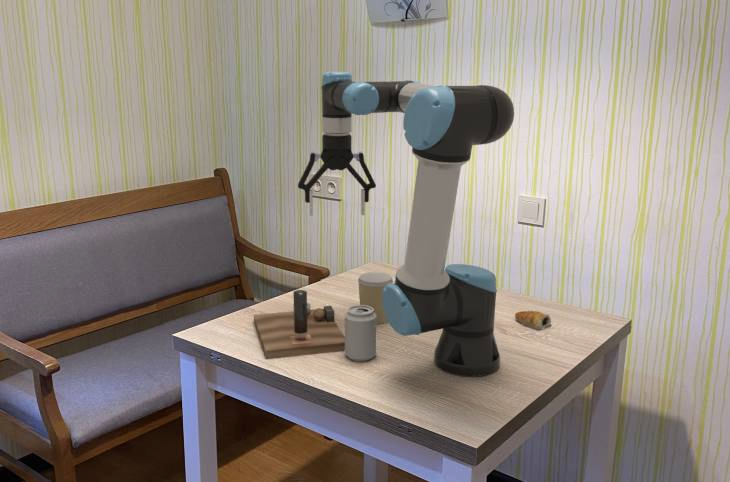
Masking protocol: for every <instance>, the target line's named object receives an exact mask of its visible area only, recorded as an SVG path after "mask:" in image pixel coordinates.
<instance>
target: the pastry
mask: <svg viewBox="0 0 730 482" xmlns="http://www.w3.org/2000/svg"><path fill="white" fill-rule="evenodd" d="M514 318H515V320H516V321H517V322H518V323H520V324H521V325H522V326H526V327H528V328H530V329H534V330H537V331H540V330H541V331H542V330H544V329H545V328H547V327H548V326H550V325H551V323H552V319H551V317H550V315H549V314H548V313H547V314H545V313H543V312H541V311H540V310H539V311H537V310H535V311H533V310H527V311H526V310H523V311H518V312H516V313H514Z"/></svg>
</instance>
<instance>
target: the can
mask: <svg viewBox="0 0 730 482" xmlns="http://www.w3.org/2000/svg"><path fill="white" fill-rule="evenodd" d="M344 336H345V350H344V354H345V356H346V357H348V359H349V360H352V361H355V362H365V361H369V360H371V359H372V358H373V357H375V356H376V355H377V324H376V314H375V313H374V309H373V308H372V307H370V306H366V305H360V304H358V305H357V304H356V305H350V306H349V307H348V308H347V311H346V313H345V315H344Z"/></svg>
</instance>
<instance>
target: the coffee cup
mask: <svg viewBox="0 0 730 482" xmlns="http://www.w3.org/2000/svg"><path fill="white" fill-rule="evenodd" d="M357 282H358V295H359V297H358V298H359V305H366V306H370V307H372V308H373V309H374V313H375V314H376V325H384V324H385V323H389V322H388V320H387V318H386V315H385V313H384V309H383V304H382V292H383V289H384V288H385V287H386V286H387V285H389V284H390V283H393V284H394V279H393V276H392V275H391V274H388V273H385V272H381V271H380V272H379V271H375V272H374V271H371V272H365V273H362V274H360V275H359V276H358V279H357Z"/></svg>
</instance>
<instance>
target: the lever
mask: <svg viewBox="0 0 730 482" xmlns="http://www.w3.org/2000/svg"><path fill="white" fill-rule="evenodd" d="M311 310H312V309H311V303H308V292H307V290H303V289H298V290H294V291H293V311H294V332H295V333H296V339H306V332H307V314H309V313H310V312H311Z"/></svg>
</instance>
